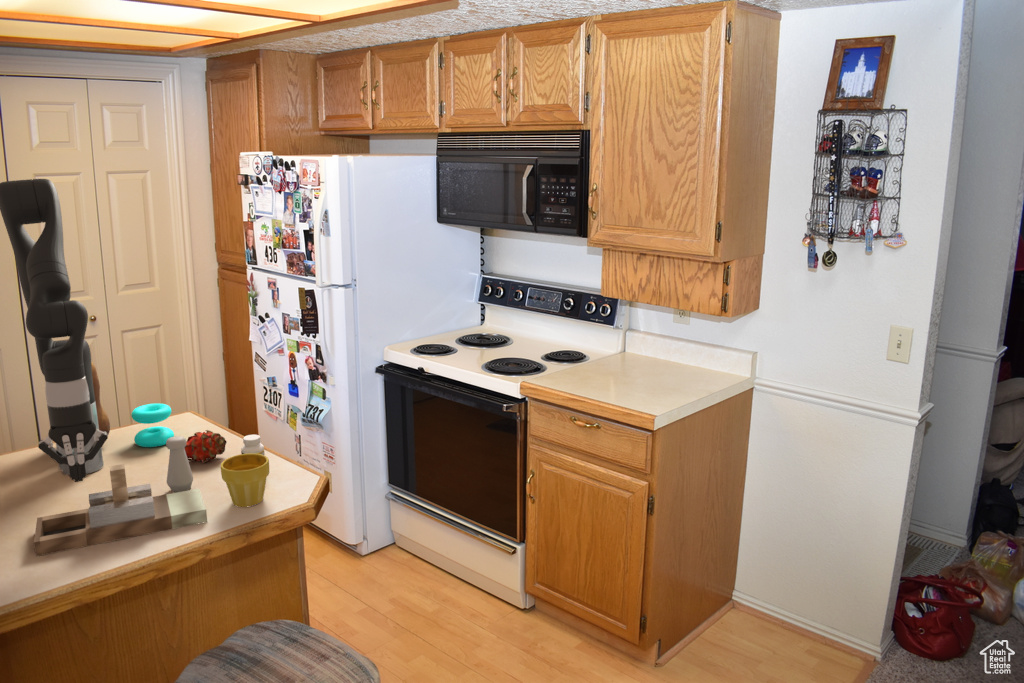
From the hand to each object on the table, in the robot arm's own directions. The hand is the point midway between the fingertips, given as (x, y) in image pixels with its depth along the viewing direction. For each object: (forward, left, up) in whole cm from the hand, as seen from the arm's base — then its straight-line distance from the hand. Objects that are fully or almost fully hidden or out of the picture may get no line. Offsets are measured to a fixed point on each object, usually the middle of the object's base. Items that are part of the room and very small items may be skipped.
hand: (79, 480), depth 161 cm
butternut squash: (-43, +35, -12) cm, 56 cm away
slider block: (+4, +6, -9) cm, 12 cm away
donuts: (-29, +46, -12) cm, 55 cm away
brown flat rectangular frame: (+4, +6, -12) cm, 14 cm away
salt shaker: (+1, +25, -12) cm, 28 cm away
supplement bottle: (+11, +39, -12) cm, 42 cm away
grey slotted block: (+4, +6, -9) cm, 12 cm away
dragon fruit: (-7, +41, -12) cm, 43 cm away
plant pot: (+20, +26, -12) cm, 35 cm away
